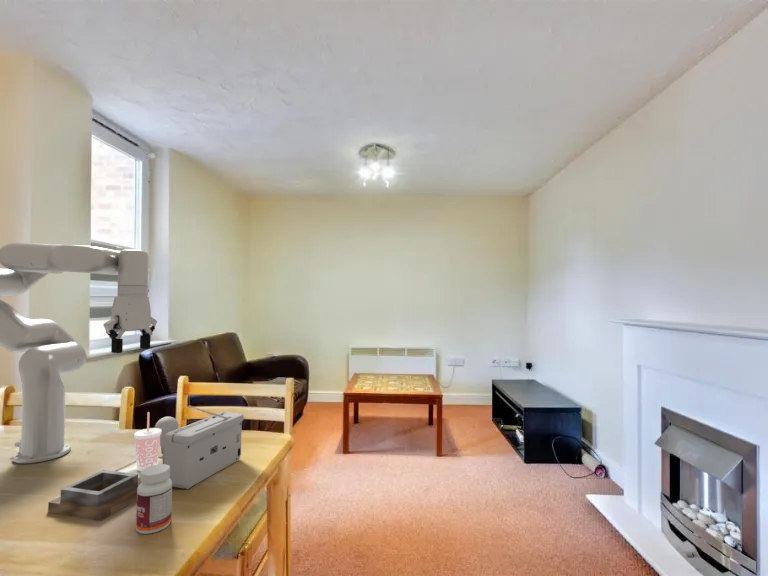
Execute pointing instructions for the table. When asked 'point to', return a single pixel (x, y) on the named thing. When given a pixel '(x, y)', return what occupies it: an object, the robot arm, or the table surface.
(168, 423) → the lightbulb
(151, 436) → the beverage cup
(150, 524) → the pill bottle
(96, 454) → the table surface
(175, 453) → the stereo radio cassette player
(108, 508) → the socket board
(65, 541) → the table surface
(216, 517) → the table surface
